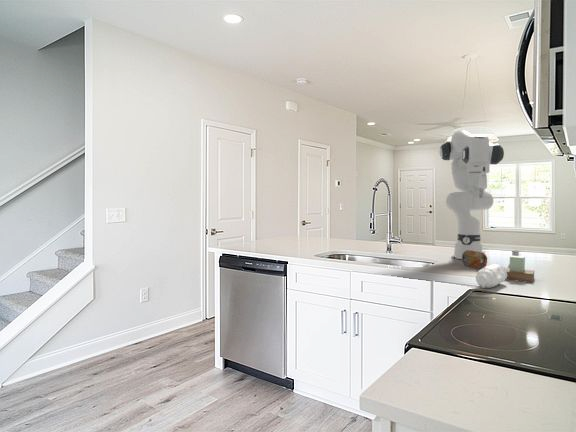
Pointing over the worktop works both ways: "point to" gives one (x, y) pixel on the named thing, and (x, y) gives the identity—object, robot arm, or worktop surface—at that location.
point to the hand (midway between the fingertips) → (478, 198)
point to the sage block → (517, 263)
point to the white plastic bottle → (491, 276)
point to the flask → (514, 253)
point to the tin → (474, 259)
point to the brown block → (520, 275)
